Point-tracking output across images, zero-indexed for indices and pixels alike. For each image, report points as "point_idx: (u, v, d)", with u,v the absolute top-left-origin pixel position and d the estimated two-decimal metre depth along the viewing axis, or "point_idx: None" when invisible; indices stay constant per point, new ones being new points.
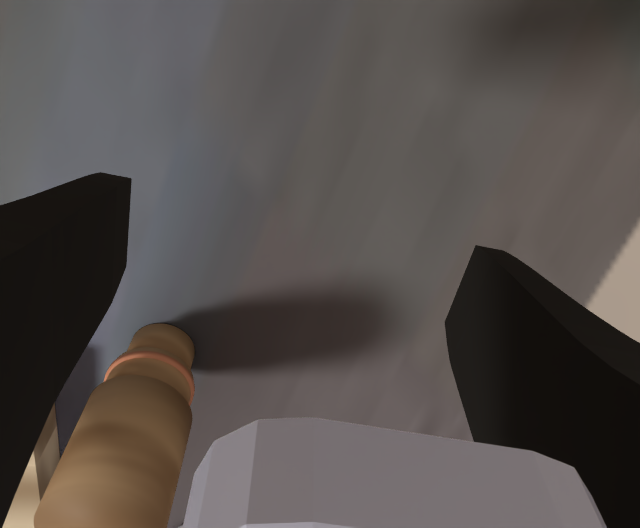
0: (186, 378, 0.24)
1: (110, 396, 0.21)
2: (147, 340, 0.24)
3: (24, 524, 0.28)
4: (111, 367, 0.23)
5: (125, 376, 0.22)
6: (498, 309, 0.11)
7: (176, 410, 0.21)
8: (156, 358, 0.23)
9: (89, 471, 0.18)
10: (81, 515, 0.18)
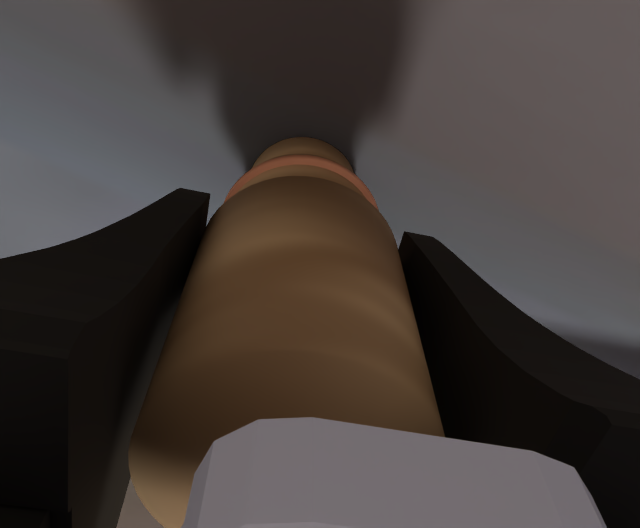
0: (276, 166, 0.12)
1: None
2: None
3: None
4: None
5: None
6: (417, 294, 0.10)
7: (242, 206, 0.10)
8: None
9: None
10: None
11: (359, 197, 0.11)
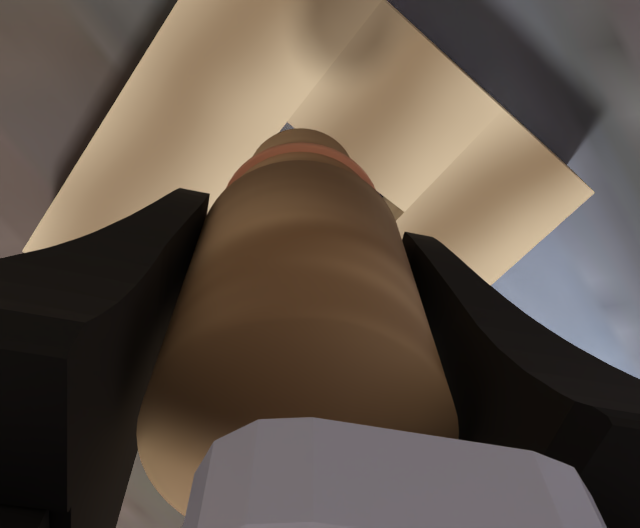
0: (271, 156, 0.12)
1: None
2: None
3: (465, 117, 0.18)
4: None
5: None
6: None
7: (238, 193, 0.10)
8: None
9: None
10: None
11: (355, 177, 0.11)
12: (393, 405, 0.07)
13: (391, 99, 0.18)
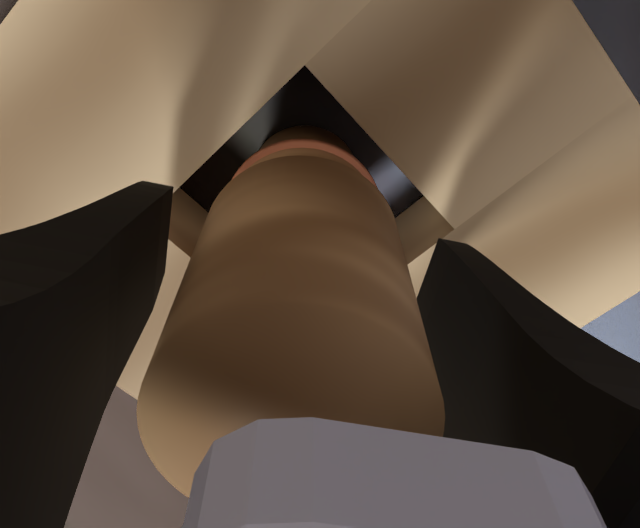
0: (274, 151, 0.12)
1: None
2: None
3: (575, 100, 0.12)
4: None
5: None
6: (457, 301, 0.11)
7: (240, 187, 0.10)
8: None
9: None
10: None
11: (354, 172, 0.11)
12: (381, 388, 0.07)
13: (471, 52, 0.12)
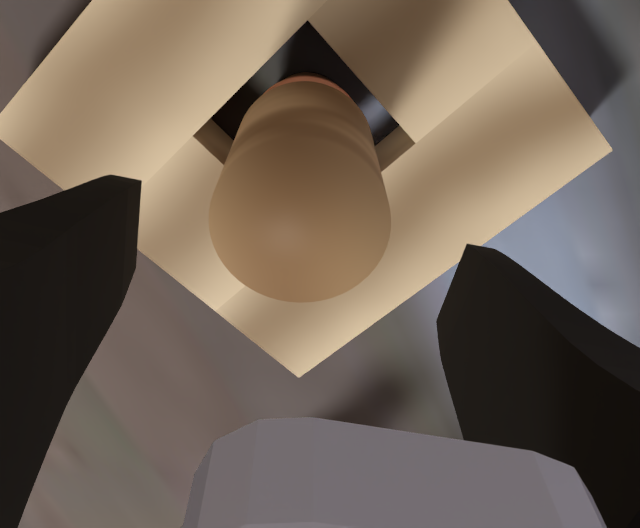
0: (286, 84, 0.18)
1: None
2: None
3: (497, 45, 0.17)
4: None
5: None
6: (488, 307, 0.11)
7: (264, 99, 0.16)
8: None
9: None
10: (267, 243, 0.13)
11: (341, 93, 0.16)
12: (353, 197, 0.12)
13: (422, 11, 0.17)
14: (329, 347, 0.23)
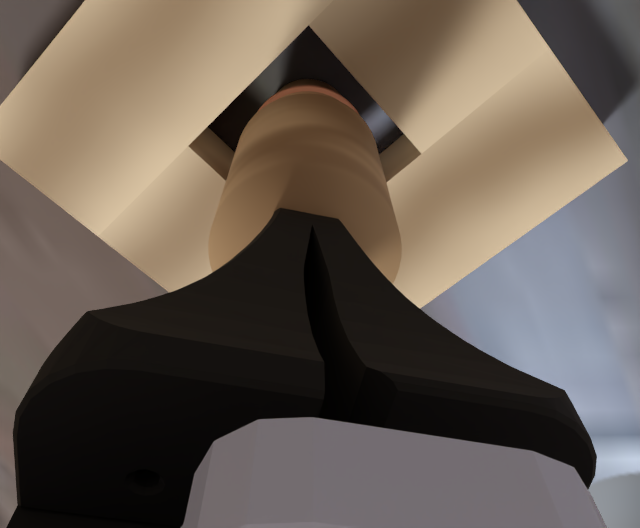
0: (287, 94, 0.17)
1: None
2: None
3: (507, 51, 0.16)
4: None
5: None
6: (309, 274, 0.10)
7: (266, 113, 0.15)
8: None
9: None
10: None
11: (346, 106, 0.15)
12: (362, 225, 0.12)
13: (429, 16, 0.16)
14: None
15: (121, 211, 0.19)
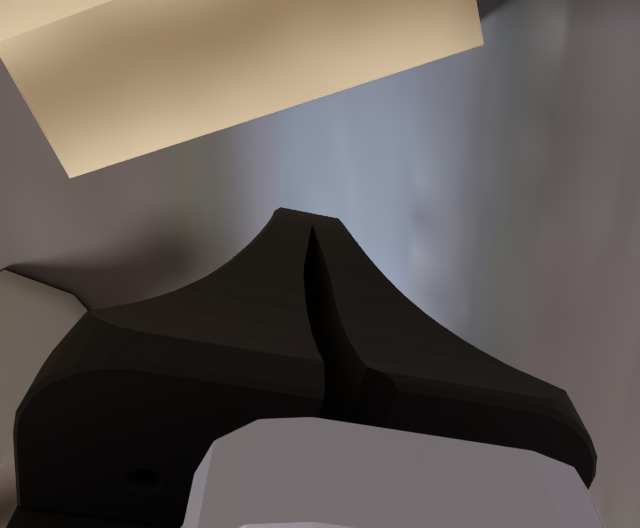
0: None
1: None
2: None
3: None
4: None
5: None
6: (309, 274, 0.10)
7: None
8: None
9: None
10: None
11: None
12: None
13: None
14: (117, 153, 0.19)
15: None
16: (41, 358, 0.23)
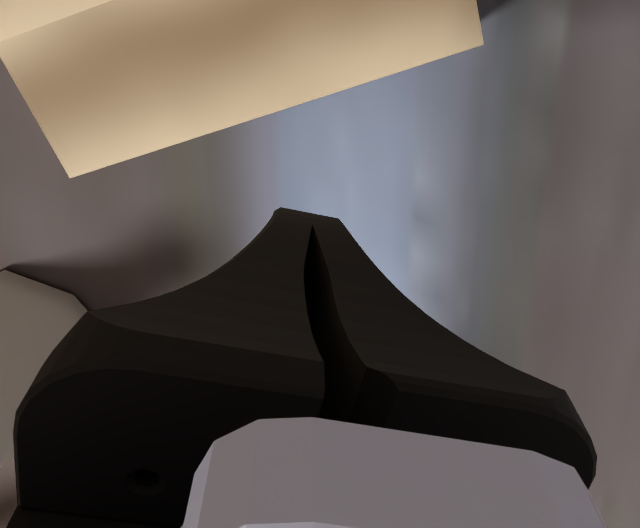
0: None
1: None
2: None
3: None
4: None
5: None
6: (309, 274, 0.10)
7: None
8: None
9: None
10: None
11: None
12: None
13: None
14: (117, 153, 0.19)
15: None
16: (41, 358, 0.23)
